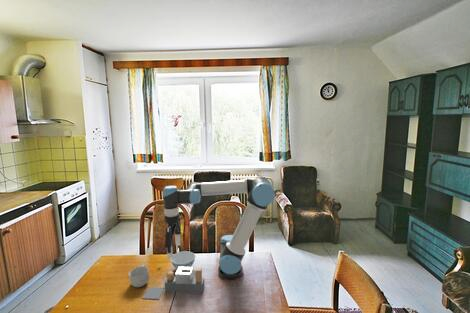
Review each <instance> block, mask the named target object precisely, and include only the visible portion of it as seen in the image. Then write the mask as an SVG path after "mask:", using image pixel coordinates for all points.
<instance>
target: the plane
mask: <svg viewBox="0 0 470 313" xmlns="http://www.w3.org/2000/svg"><path fill="white" fill-rule="evenodd" d="M194 272H195V273H194V274H195V277H193V279H192V281H191V284H176V276H175V274H174V271H171V270H170V271H167V273H166V278H165V281H164V292H174V293H175V292H177V293H181V292H182V293H197V294H198V293H201V294H202V293H203V292H204V288H205V277H203V269H202V267H195V270H194Z"/></svg>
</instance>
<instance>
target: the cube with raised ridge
mask: <svg viewBox="0 0 470 313" xmlns="http://www.w3.org/2000/svg"><path fill="white" fill-rule="evenodd" d="M175 276H176V284H191V281H192V279H193V278H194V267H193V266H191V267H178V269H176V272H175V274H174V277H175Z"/></svg>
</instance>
